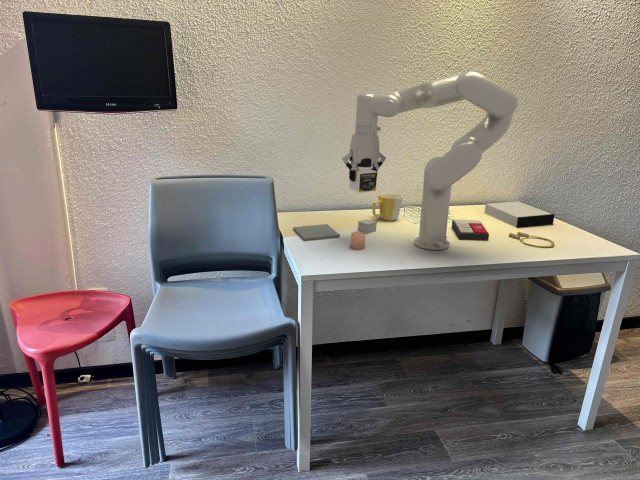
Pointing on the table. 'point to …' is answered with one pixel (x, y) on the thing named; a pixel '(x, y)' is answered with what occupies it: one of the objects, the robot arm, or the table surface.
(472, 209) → the table surface
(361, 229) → the grey plastic block
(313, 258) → the table surface
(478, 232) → the red and grey box
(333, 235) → the slate mat
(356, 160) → the robot arm
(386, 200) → the mug
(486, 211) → the disc drive
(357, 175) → the medicine bottle
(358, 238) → the terracotta cylinder
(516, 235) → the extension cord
